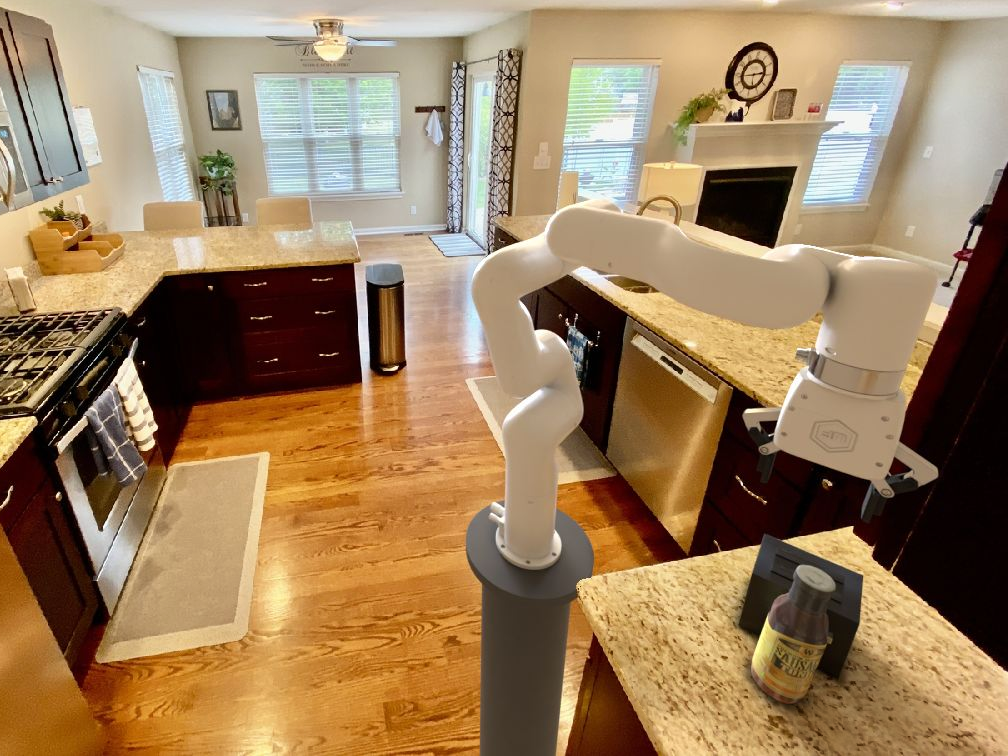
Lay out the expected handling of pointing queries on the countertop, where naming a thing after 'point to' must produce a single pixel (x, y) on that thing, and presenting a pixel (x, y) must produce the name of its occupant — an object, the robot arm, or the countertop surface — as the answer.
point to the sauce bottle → (794, 636)
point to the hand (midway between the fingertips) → (812, 495)
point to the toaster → (776, 580)
